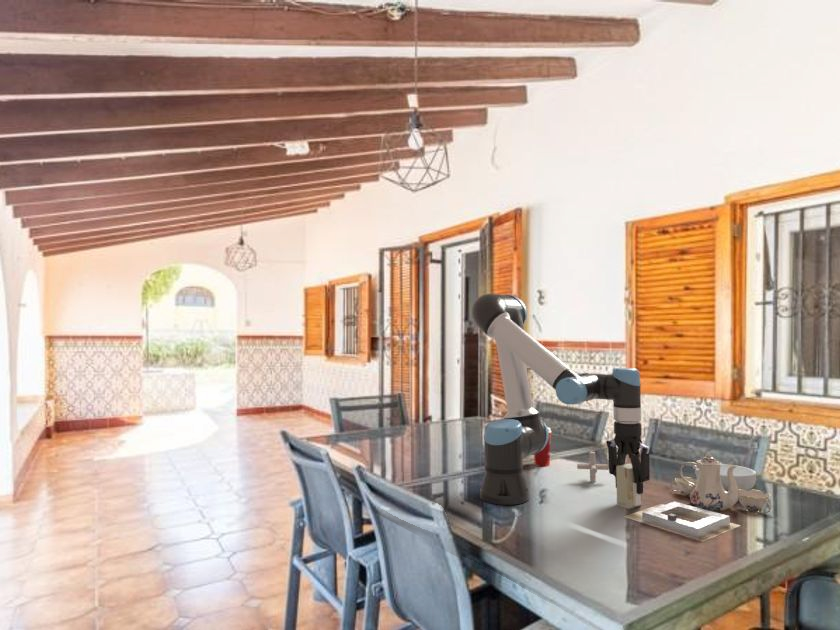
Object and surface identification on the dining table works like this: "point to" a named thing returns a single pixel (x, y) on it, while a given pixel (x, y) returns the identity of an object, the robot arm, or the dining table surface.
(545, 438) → the robot arm
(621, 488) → the skincare box
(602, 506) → the dining table surface
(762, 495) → the chinaware
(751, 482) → the cereal bowl
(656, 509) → the white square frame
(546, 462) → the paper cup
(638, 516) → the board
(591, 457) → the pipe connector
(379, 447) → the dining table surface
